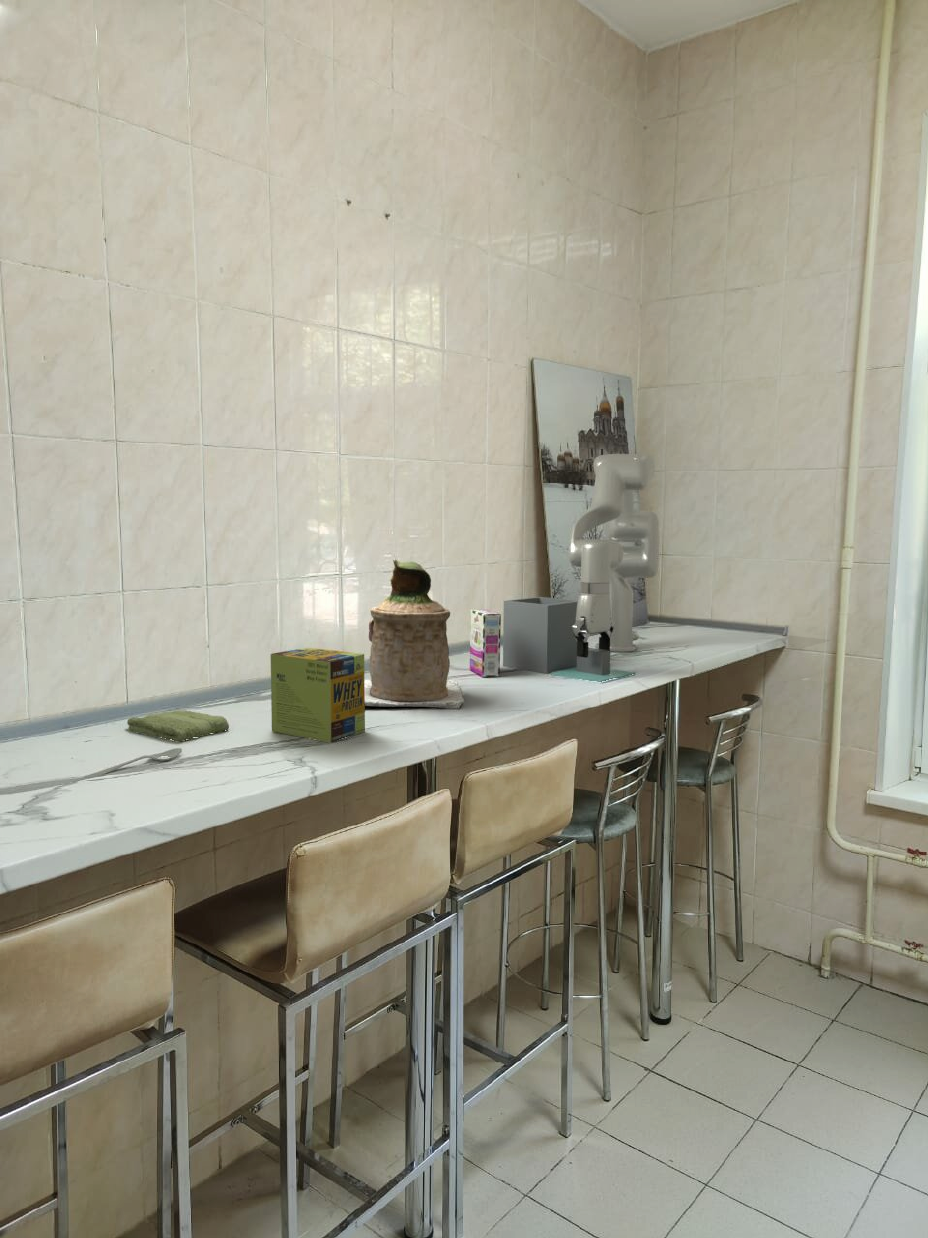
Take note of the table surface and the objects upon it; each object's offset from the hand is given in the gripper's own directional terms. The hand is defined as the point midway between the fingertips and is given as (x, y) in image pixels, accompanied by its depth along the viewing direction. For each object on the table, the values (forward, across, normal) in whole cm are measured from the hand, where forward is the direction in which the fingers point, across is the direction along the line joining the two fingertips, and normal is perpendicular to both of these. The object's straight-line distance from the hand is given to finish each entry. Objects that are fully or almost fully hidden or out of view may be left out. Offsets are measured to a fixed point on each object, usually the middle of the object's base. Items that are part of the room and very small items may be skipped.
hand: (593, 654), depth 232 cm
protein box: (+6, +86, -4) cm, 86 cm away
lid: (+6, 0, 0) cm, 6 cm away
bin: (+5, 0, -17) cm, 18 cm away
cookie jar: (+6, +53, -14) cm, 55 cm away
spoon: (+6, +123, -8) cm, 123 cm away
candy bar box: (+6, +19, -21) cm, 29 cm away
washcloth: (+6, +104, -25) cm, 108 cm away
